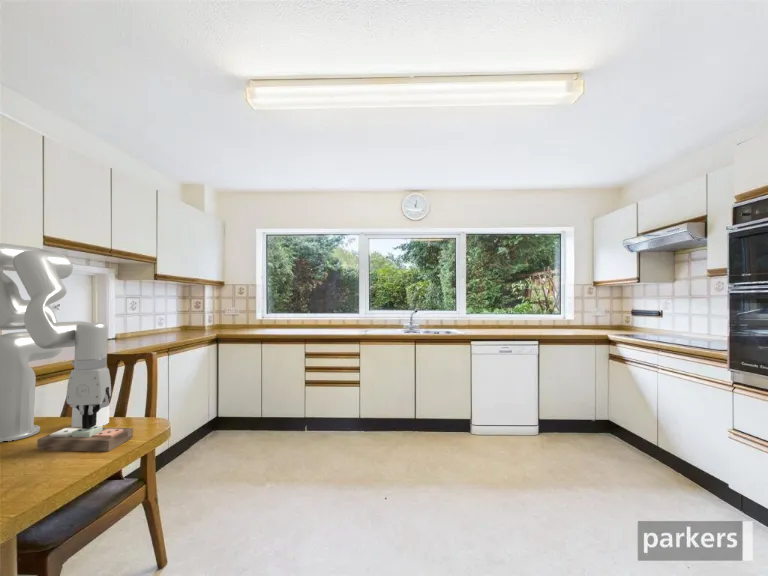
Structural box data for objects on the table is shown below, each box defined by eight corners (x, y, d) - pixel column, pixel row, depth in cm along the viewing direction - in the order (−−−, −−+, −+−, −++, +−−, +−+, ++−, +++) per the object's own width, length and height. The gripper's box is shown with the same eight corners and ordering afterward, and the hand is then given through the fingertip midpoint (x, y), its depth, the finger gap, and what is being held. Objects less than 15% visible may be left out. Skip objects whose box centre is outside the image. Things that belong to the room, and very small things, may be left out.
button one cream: (49, 442, 106) (49, 433, 106) (64, 436, 111) (64, 427, 111) (67, 443, 106) (67, 434, 106) (81, 436, 111) (81, 428, 111)
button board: (37, 450, 103) (37, 439, 103) (67, 436, 113) (67, 426, 113) (108, 451, 103) (109, 440, 103) (132, 437, 113) (133, 428, 113)
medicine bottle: (109, 423, 125) (111, 388, 126) (90, 431, 118) (92, 393, 118) (90, 422, 126) (91, 387, 126) (70, 429, 119) (72, 392, 119)
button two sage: (71, 440, 106) (72, 431, 106) (85, 433, 111) (86, 425, 111) (89, 440, 106) (89, 431, 106) (102, 434, 111) (102, 425, 111)
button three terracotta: (93, 443, 106) (93, 434, 106) (106, 436, 111) (106, 428, 111) (111, 443, 106) (111, 435, 106) (123, 437, 111) (123, 428, 111)
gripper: (54, 366, 105) (52, 431, 104) (106, 366, 105) (105, 431, 104) (76, 362, 112) (74, 423, 112) (125, 362, 113) (123, 423, 112)
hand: (89, 427), depth 108 cm, fingers closed
